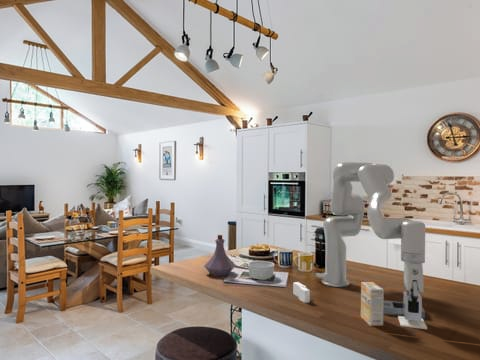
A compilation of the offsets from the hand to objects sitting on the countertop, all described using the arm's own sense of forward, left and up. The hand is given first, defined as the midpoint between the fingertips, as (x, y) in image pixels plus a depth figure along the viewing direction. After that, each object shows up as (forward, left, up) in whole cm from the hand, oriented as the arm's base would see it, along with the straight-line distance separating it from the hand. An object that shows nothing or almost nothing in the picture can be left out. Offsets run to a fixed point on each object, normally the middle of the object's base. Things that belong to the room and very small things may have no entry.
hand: (412, 309), depth 125 cm
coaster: (0, 0, -5) cm, 5 cm away
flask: (-85, +40, -6) cm, 94 cm away
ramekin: (-63, +40, -6) cm, 75 cm away
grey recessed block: (-2, +9, -5) cm, 11 cm away
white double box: (-40, +15, -6) cm, 43 cm away
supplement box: (-13, -3, -6) cm, 15 cm away
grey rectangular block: (0, 0, -3) cm, 3 cm away
